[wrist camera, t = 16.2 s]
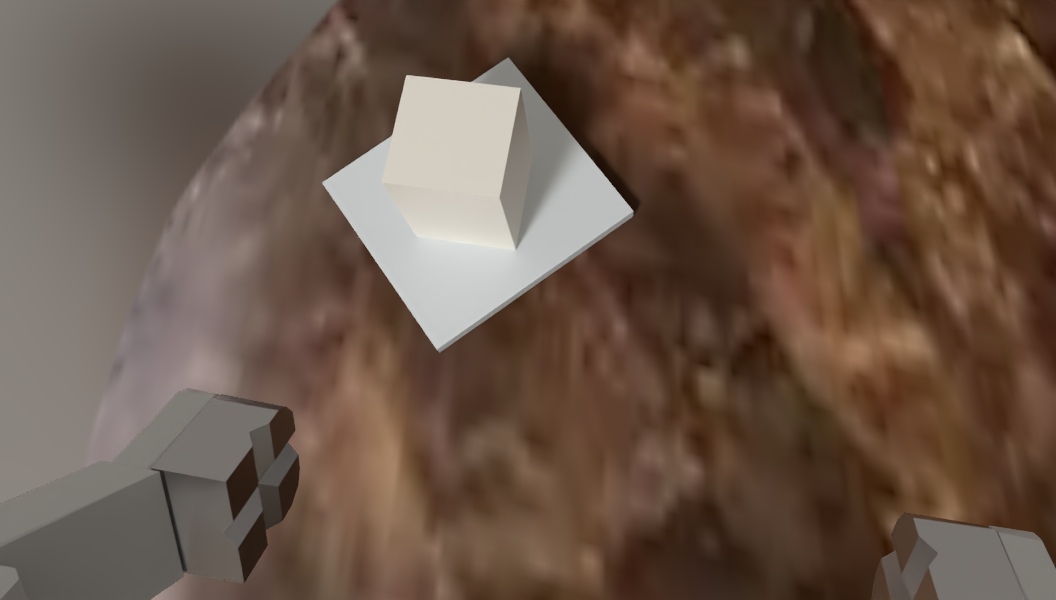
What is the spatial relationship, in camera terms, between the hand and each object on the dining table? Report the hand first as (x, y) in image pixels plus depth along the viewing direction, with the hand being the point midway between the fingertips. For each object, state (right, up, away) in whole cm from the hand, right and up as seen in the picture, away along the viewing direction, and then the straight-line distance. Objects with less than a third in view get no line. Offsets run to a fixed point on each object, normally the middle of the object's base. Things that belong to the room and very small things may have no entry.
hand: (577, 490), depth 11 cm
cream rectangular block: (-4, +8, +34) cm, 35 cm away
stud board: (-4, +8, +35) cm, 36 cm away
